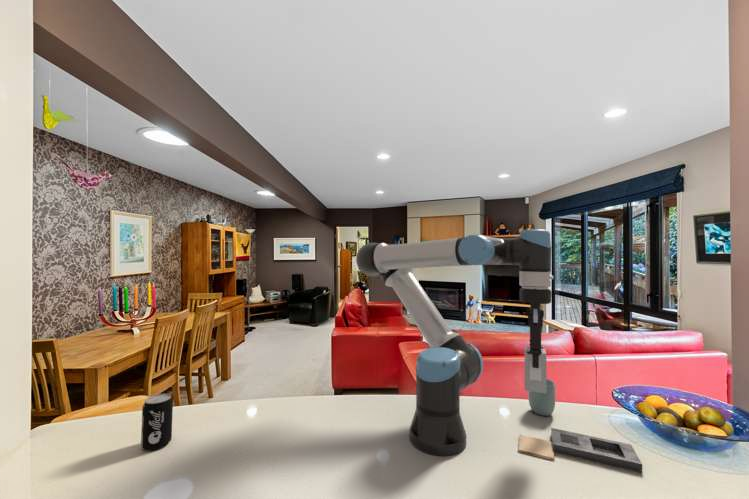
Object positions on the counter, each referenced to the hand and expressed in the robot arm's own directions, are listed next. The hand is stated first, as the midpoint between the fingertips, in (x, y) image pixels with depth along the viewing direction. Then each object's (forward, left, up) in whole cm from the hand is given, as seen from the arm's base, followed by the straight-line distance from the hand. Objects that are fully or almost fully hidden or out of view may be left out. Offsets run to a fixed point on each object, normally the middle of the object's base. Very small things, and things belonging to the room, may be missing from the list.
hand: (535, 375), depth 84 cm
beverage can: (-89, -44, -19) cm, 101 cm away
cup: (+2, +23, -19) cm, 30 cm away
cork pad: (0, 0, -19) cm, 19 cm away
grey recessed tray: (+13, +4, -19) cm, 23 cm away
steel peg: (0, 0, -3) cm, 3 cm away
